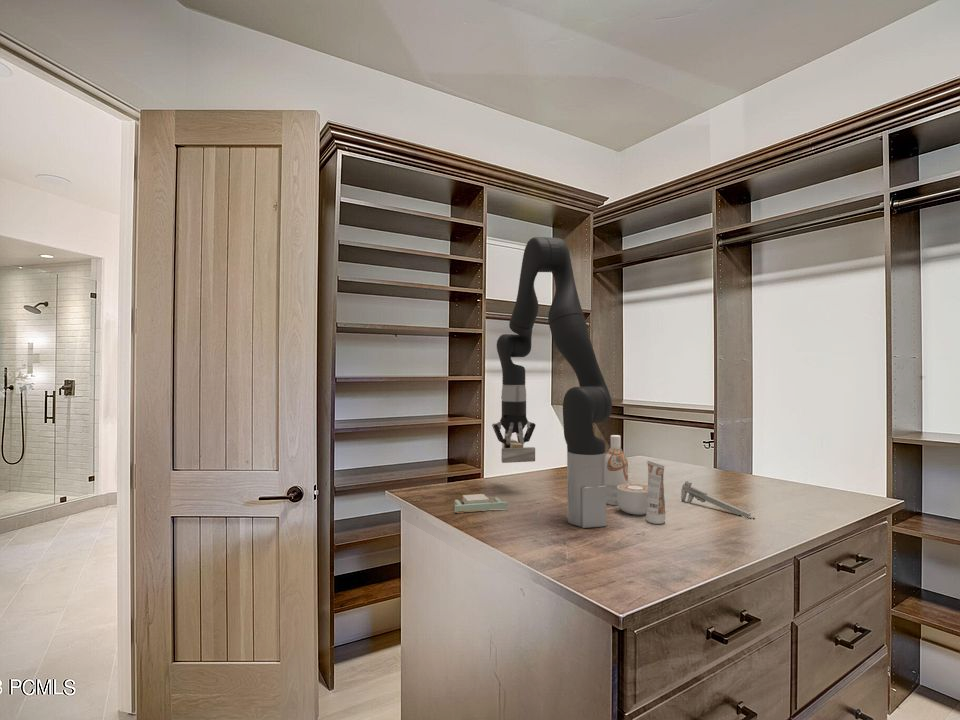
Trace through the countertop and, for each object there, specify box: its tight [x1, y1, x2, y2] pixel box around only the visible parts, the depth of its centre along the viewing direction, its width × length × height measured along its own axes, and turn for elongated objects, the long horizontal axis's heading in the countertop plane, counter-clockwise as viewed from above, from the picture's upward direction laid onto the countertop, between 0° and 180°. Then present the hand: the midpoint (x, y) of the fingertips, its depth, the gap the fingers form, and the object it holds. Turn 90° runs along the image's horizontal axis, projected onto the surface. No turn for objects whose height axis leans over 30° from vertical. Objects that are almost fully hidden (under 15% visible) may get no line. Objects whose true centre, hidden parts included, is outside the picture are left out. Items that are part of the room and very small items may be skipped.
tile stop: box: [454, 496, 508, 513], centre depth 139 cm, size 6×14×2 cm, turn 103°
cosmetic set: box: [605, 434, 666, 525], centre depth 136 cm, size 25×9×19 cm, turn 16°
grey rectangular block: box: [501, 438, 536, 464], centre depth 160 cm, size 13×10×5 cm
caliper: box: [680, 480, 756, 519], centre depth 138 cm, size 20×1×6 cm, turn 34°
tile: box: [462, 493, 490, 504], centre depth 143 cm, size 6×6×2 cm
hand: (513, 455), depth 159 cm, fingers closed on grey rectangular block, 3 cm apart
